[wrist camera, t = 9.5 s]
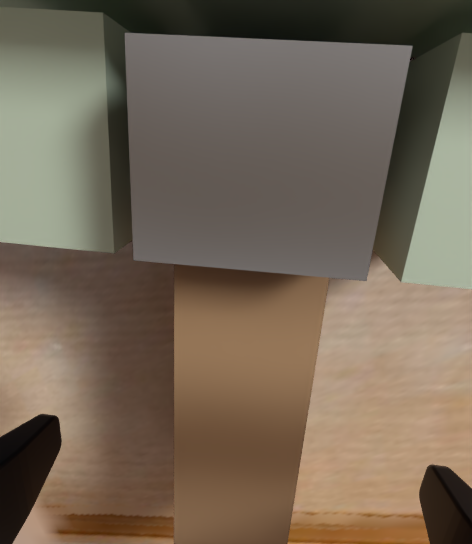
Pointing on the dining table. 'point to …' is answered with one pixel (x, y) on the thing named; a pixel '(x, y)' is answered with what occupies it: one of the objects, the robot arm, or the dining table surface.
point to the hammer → (253, 245)
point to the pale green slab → (235, 24)
